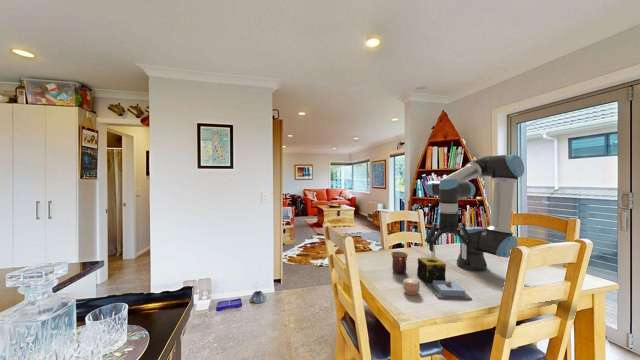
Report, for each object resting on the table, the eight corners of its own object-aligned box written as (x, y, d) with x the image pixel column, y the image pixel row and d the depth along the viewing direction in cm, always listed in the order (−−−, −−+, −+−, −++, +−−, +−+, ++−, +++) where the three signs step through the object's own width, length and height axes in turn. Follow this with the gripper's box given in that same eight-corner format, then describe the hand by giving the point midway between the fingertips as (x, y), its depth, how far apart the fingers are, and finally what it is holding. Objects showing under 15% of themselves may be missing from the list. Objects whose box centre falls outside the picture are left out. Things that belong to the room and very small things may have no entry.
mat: (456, 285, 121) (456, 284, 121) (471, 299, 107) (471, 298, 107) (426, 284, 122) (426, 283, 122) (438, 298, 108) (438, 297, 108)
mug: (390, 268, 143) (390, 251, 143) (406, 270, 141) (406, 251, 141) (392, 277, 131) (392, 257, 131) (409, 278, 129) (409, 259, 129)
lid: (454, 285, 119) (454, 277, 119) (464, 296, 109) (464, 287, 109) (432, 285, 120) (432, 277, 120) (441, 295, 110) (441, 286, 110)
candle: (416, 276, 133) (416, 257, 132) (434, 275, 134) (435, 256, 133) (426, 284, 123) (426, 264, 122) (446, 283, 123) (446, 263, 123)
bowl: (416, 289, 117) (416, 278, 117) (421, 296, 110) (421, 284, 110) (401, 288, 118) (401, 277, 118) (405, 296, 111) (405, 284, 111)
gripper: (472, 210, 117) (472, 255, 117) (417, 211, 119) (418, 255, 119) (481, 213, 109) (481, 261, 110) (423, 213, 111) (423, 260, 112)
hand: (448, 258), depth 115 cm, fingers open, 13 cm apart
